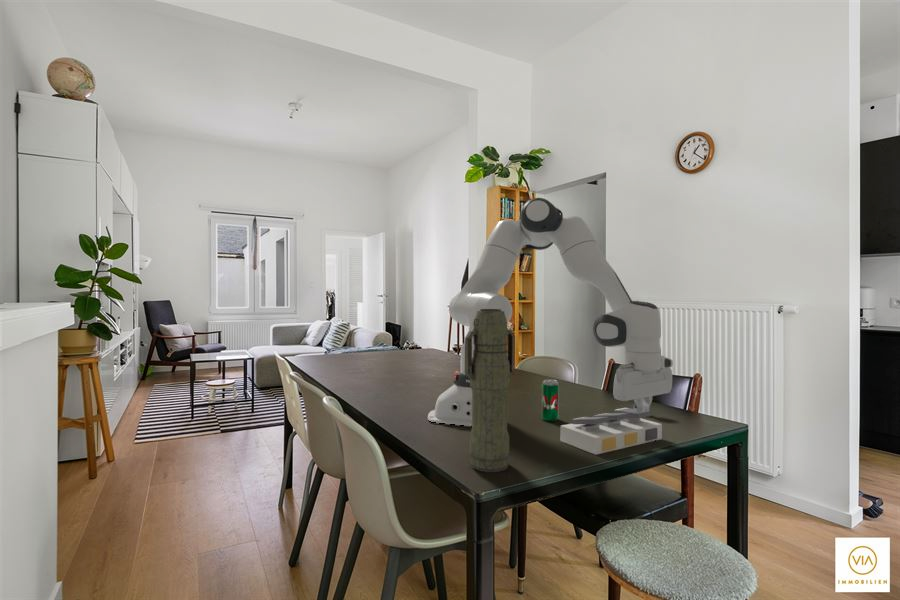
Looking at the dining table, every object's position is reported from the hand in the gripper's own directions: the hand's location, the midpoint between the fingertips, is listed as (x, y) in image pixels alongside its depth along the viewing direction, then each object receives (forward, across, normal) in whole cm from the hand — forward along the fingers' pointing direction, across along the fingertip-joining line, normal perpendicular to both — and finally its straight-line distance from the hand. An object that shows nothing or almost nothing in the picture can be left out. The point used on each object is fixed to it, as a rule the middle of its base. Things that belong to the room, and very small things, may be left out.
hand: (643, 413), depth 125 cm
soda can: (+7, -9, +26) cm, 28 cm away
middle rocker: (0, -9, +3) cm, 9 cm away
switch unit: (+7, -9, +3) cm, 12 cm away
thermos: (+6, -48, +5) cm, 48 cm away
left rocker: (0, -17, +3) cm, 17 cm away
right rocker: (0, -1, +3) cm, 3 cm away
